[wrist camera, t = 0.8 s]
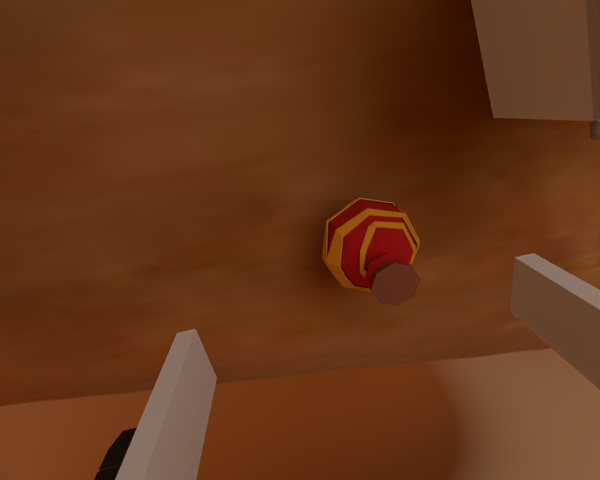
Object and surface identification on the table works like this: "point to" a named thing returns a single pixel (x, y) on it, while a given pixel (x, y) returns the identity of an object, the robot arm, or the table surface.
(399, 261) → the potion bottle
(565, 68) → the white lidded container
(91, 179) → the table surface
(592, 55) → the box lid
